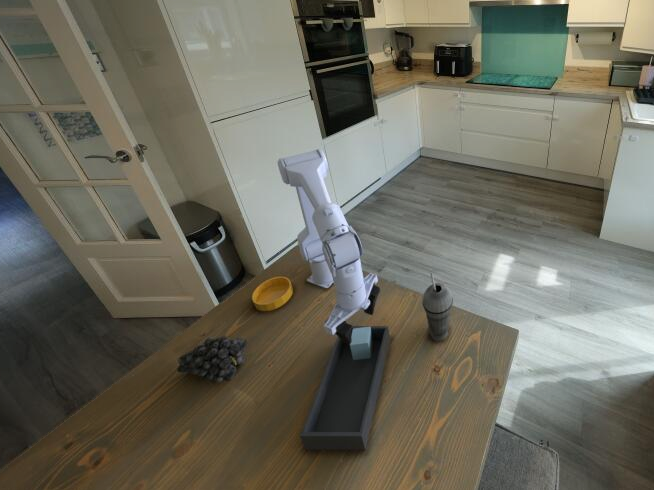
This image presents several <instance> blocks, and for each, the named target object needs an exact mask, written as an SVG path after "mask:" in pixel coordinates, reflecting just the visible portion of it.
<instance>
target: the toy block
mask: <svg viewBox="0 0 654 490" xmlns="http://www.w3.org/2000/svg"><path fill="white" fill-rule="evenodd" d="M351 338H352V342H351V344H350V348H351V352H352V357H353V360H360V359H367V358H371V353H372V345H373V339H372V333H371V328H370V327H363V328H355V329H353V331H352V336H351Z"/></svg>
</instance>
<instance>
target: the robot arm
mask: <svg viewBox="0 0 654 490" xmlns="http://www.w3.org/2000/svg"><path fill="white" fill-rule="evenodd" d="M277 167H278V170H279V174H280V176H281V177H280V178H281V180H282V182H283V183H284V184H286V185H289V186H290V187H293V188H295V190H296V193H297V199H298V202H299V206H300V210H301V213H302V217H303V221H304V225H305V227H304V228H303V229H302V230H301V231H300V232H299V233H298V234H297V237H296V239H297V246H298V249H299V253H300V255H301V258H302V260H303V261H305V262H308V265H309V268H310V271H311V275H310V276H309V277H308V278H307V279H306V281H307V282H308V283H310V284H313V285H316V286H318V287H321V288H325V289H329V288H330V286H331V285H332V284H333V285H334V290H335V294H336V299H337V300H336V303H335V305H334V306H333V309H332V311H331V313H330V315H329V317H328V318H327V319H326V320H325V322H324V324H323V329H324V332H325V333H327V334H328V335H331V336H334V335H336V336H337V338H338V337H339V338H340V339H341V341H342V342H343V343H345V344H347V345H350V344H351V342H352V338H351V329H352V326H353V324H350V323H348V322H347V321H346V320H347V319H349V318H350V317H352V316H353V315H354V314H356V313H358V312H359V311H360V310H363V312H364V314H367V315H369V316H373V315H374V313H375V306H376V302H377V298H378V296H379V294H380V292H381V288H380V287H379V286H378V285H376V284H377V283H378V282H379V279H378V275H377V274H374V273H372V272H370V273H368V274H367V275H366V276H365V277H364V274H363V268H362V263H361V262H362V261H361V258H360V257H363V256H364V248H363V246H362V245H363V244H362V242H361V239H360V237H359V236H358V234H357V232H356V230H355V229H354V228H353V226H352V225H349V224H348V222H347V219H346V217H345V215H344V213H343V211H342V208H341V206H340V205H339V204H336V203H333V202H332V200H331V198H330V194H329V192H328V189H327V186H326V183H325V180H324V179H325V178H327V177H328V171H329V164H328V160H327V158H326V155H325V153H324V151H323V150H321V149H320V148H317V149H316V150H315V149H314V150H310V151H307V152H303V153H299V154H295V155H291V156H286V157H283V158H282V157H280V158H278V160H277Z"/></svg>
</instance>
